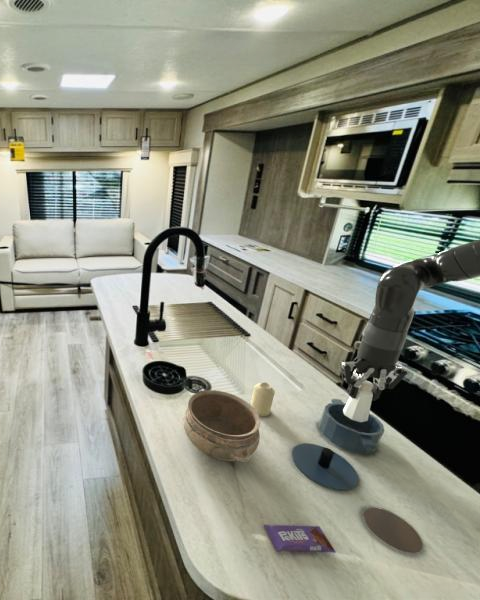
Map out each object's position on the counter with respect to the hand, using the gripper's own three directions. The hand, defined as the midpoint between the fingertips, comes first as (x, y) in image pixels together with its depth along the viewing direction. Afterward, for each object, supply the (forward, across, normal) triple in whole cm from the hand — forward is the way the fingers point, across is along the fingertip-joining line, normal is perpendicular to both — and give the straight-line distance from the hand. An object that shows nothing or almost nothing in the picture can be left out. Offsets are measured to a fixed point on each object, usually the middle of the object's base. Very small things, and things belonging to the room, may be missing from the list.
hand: (361, 397), depth 84 cm
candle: (+14, -22, +6) cm, 26 cm away
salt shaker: (+6, 0, 0) cm, 6 cm away
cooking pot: (+14, -37, -12) cm, 41 cm away
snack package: (+14, -24, -34) cm, 44 cm away
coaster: (+14, -4, -27) cm, 31 cm away
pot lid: (+13, -11, -13) cm, 22 cm away
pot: (+14, 0, 0) cm, 14 cm away
